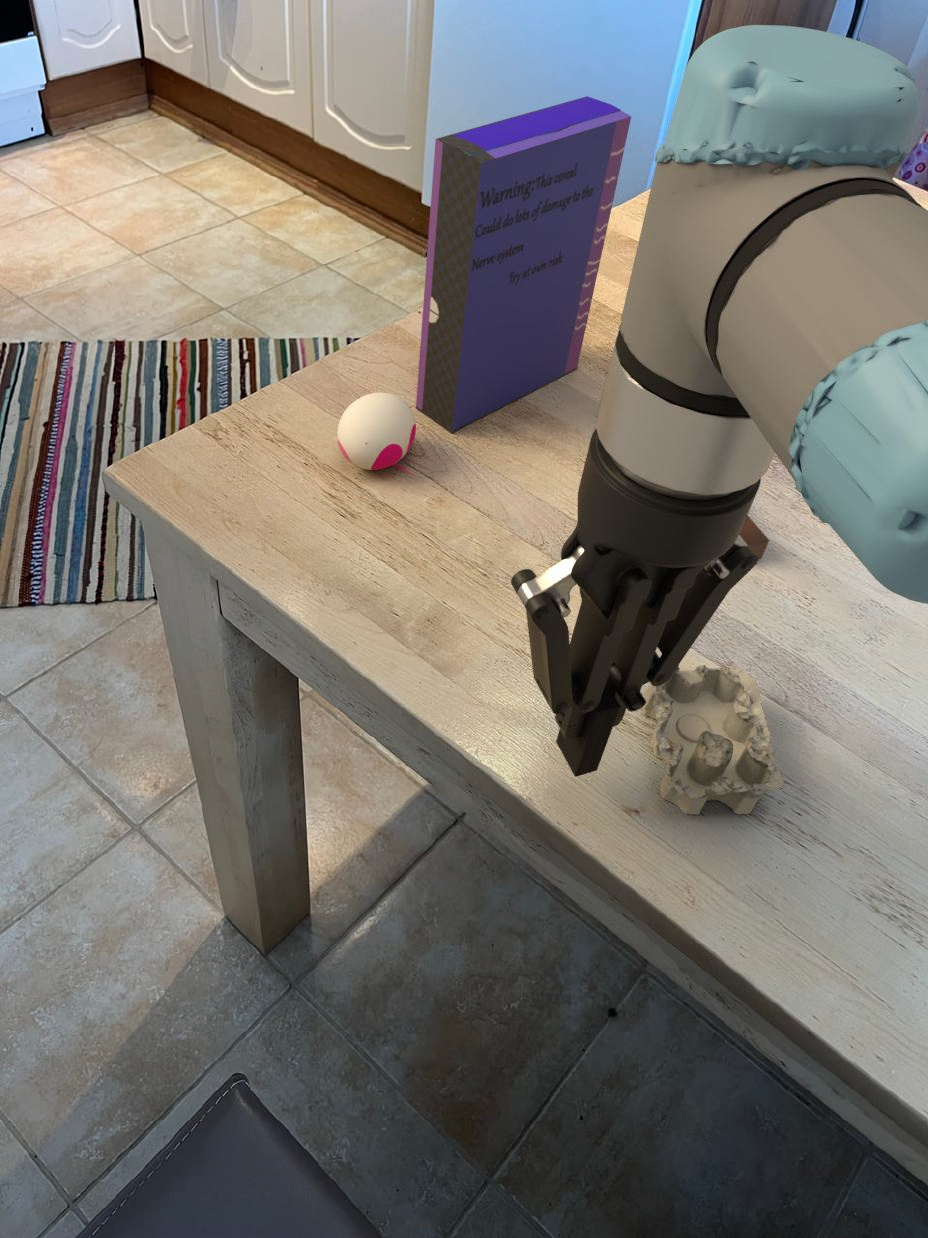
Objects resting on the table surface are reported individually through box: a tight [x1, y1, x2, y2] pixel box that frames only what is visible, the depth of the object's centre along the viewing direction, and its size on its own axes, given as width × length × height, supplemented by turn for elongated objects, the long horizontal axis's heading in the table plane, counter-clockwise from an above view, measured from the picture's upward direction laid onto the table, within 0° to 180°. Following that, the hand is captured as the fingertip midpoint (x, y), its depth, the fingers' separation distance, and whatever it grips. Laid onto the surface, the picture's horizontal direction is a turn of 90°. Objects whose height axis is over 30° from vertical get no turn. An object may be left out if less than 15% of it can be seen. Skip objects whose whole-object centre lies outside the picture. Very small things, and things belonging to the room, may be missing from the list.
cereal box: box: [415, 95, 632, 434], centre depth 82 cm, size 17×5×24 cm, turn 134°
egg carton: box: [641, 664, 785, 816], centre depth 63 cm, size 11×8×4 cm
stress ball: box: [336, 392, 417, 475], centre depth 80 cm, size 8×8×7 cm
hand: (576, 755), depth 58 cm, fingers closed
